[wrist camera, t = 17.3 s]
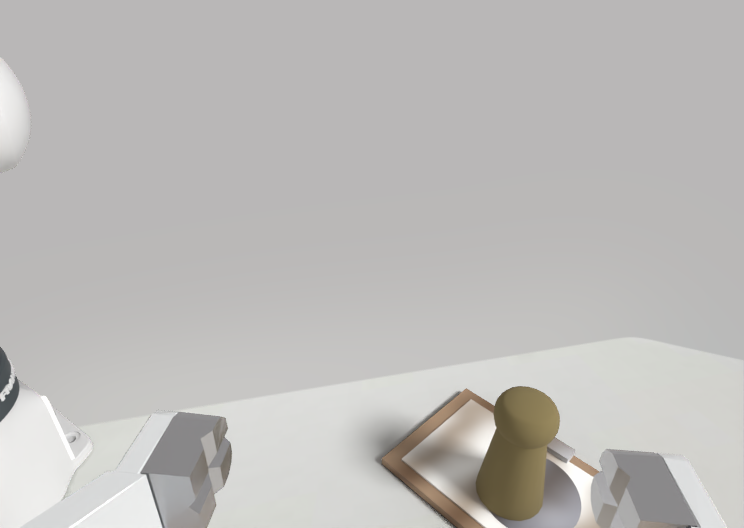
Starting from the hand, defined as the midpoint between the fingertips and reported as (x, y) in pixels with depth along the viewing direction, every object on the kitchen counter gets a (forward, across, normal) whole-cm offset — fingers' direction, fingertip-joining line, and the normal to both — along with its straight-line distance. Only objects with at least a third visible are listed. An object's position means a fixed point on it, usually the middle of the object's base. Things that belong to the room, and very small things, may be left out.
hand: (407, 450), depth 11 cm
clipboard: (+24, -10, +32) cm, 41 cm away
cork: (+23, -10, +31) cm, 40 cm away
